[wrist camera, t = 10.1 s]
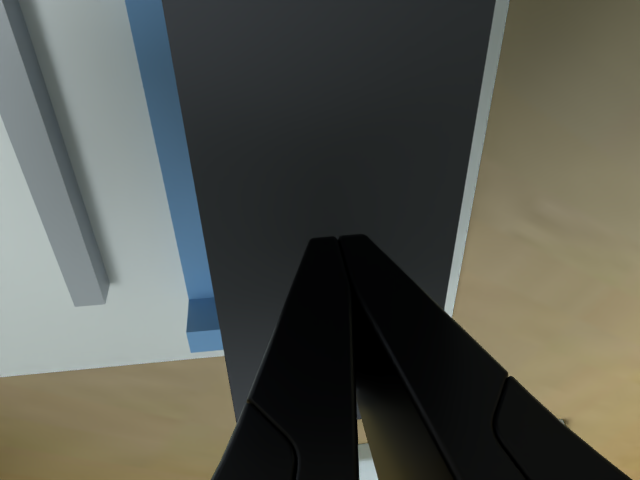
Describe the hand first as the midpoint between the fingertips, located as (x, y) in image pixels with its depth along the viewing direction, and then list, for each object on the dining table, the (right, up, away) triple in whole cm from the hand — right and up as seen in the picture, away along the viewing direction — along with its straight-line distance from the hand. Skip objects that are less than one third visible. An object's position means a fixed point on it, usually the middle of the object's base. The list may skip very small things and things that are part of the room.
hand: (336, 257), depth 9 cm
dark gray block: (-1, +4, +4) cm, 6 cm away
